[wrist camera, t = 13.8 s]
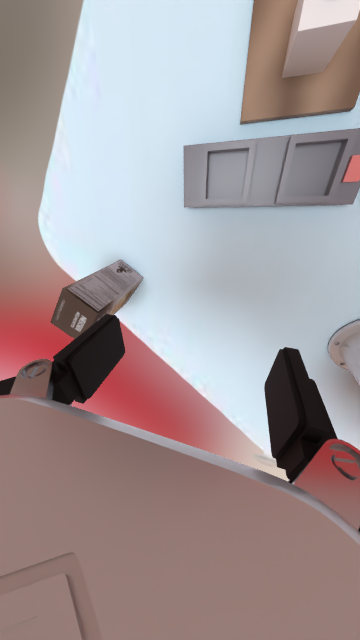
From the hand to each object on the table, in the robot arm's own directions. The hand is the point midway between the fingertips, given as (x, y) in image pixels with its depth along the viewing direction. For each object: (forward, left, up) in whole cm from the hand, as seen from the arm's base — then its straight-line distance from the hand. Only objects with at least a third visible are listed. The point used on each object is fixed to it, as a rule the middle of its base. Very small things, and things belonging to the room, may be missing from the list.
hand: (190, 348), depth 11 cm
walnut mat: (-6, -20, -27) cm, 34 cm away
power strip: (-4, -10, -27) cm, 29 cm away
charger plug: (-6, -20, -26) cm, 34 cm away
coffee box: (+22, +8, -27) cm, 35 cm away
